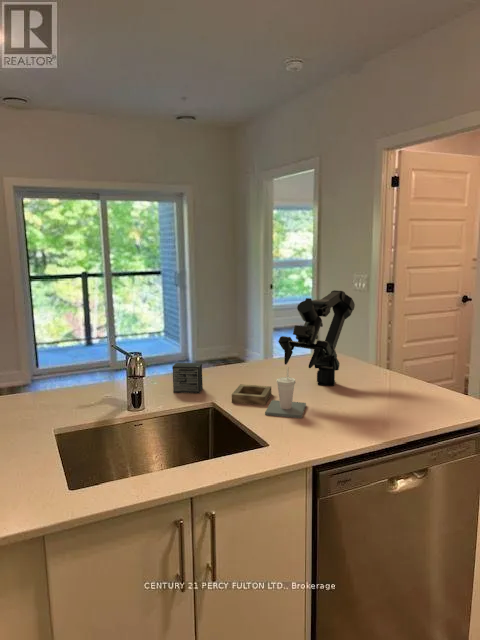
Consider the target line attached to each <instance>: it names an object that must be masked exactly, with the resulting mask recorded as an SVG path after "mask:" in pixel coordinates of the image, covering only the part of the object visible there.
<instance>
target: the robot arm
mask: <svg viewBox="0 0 480 640" xmlns="http://www.w3.org/2000/svg"><path fill="white" fill-rule="evenodd" d="M355 305H356V304H355V301H354V300H353V298H352V297H351V296H349V295H347V293H346V292H345V291H343V290H338V289H337V290H336V289H335V290H334V289H333V290H332V291H331V292H329V293H328V294H327V295H325V296H324V297H323V298H321V299H313V300H312V298H310V297H309V298H308V297H306V298H305V300H302V301H301V302H300V303H298V304H297V308H296V309H297V311H298V314H299V315H300V318H301V319H302V320H303V321H304V325H297V324H296V325H294V327H293V332H292V335H295V339H296V340H297V341H295V340H293V339H292V337H291V336H287V335H286V336H285V335H282V336H280V337H279V339H278V340H277V341H278V344H279V346H280V347H281V349H282V350H283V351H284V352H283V353H284V362H283V363H284V365H288V363H289V362H290V359H291V357H292V355H293V353H294V352H293V350H294V349H295V348H301V349H309V350H313V352H312V353H313V354H312V356H311V358H310V361H309V362H308V368H309V369H311V368H313V367H314V369H318V370H317V372H316V382H317V385H318V386H329V387H330V386H332V387H334V386H335V385H336V384H335V383H336V371H339V369H340V361H339V359H338V355H337V351H336V348H337V347H336V346H337V344H338V341H339V339H340V336H341V333H342V330H343V326H344V324H345V320H346V319H348V318H349V317H351V315H352V313H353V311H354V309H355V307H356V306H355ZM331 309H332V311H333V316H332V320H331V323H330V325H329V328H328V331H327V334H326V337H325V340H319V339H318V338H319V336H318V334H319V331H320V328H322V327H323V326H324V324H323V319H322V317H324V318H326V317H327V316H328V315H329V314H330V313H331ZM316 340H317V341H316ZM315 342H316V343H315Z"/></svg>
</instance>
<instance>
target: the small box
mask: <svg viewBox="0 0 480 640" xmlns="http://www.w3.org/2000/svg"><path fill="white" fill-rule="evenodd" d="M172 384H173V385H172V387H173V389H172V393H173V394H201V393H202V390H203V388H204V387H203V385H204V384H203V363H202V362H175V363H174V365H172Z"/></svg>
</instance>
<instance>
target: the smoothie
mask: <svg viewBox="0 0 480 640" xmlns="http://www.w3.org/2000/svg"><path fill="white" fill-rule="evenodd" d="M289 369H290V368H289V367H288V366H287V367H286V376H281V377H277V379H276V384H277V391H278V398H279V399H278V401H280V407H281V408H282V409H290V408H291V406H292V402H293V398H294V390H295V384H297V383H296V379H295V378H294V377H289Z"/></svg>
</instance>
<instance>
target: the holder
mask: <svg viewBox="0 0 480 640" xmlns="http://www.w3.org/2000/svg"><path fill="white" fill-rule="evenodd" d="M271 396H272V386H269V385H268V386H267V385H256V384H239V385H238V386H237V387H236V389H235V390H234V391H233V392H232V394H231V403H232V404H247V405H255V406H256V405H259V406H265V405H266V404H267V402H268V401H269V399H270V397H271Z"/></svg>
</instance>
